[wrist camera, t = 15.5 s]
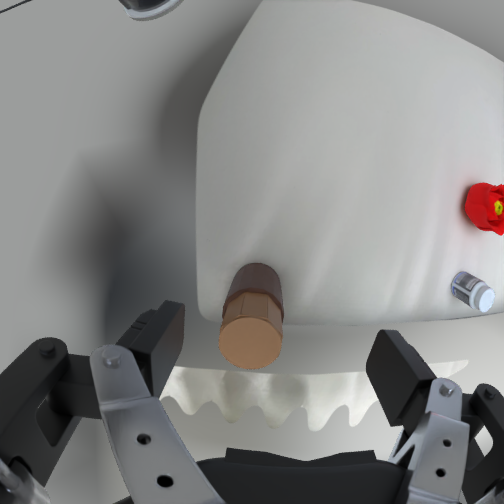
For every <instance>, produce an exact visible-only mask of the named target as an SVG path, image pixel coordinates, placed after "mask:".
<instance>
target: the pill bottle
mask: <svg viewBox="0 0 504 504" xmlns="http://www.w3.org/2000/svg"><path fill="white" fill-rule="evenodd" d="M452 293H453V295H454V296H456V297H457V298H458V299H460V300H461V301H463V302H464V303H466V304H467V305H469V306H470V307H471V308H473V309H478V310H480V311H481V312H486V311H488V310H489V309H490V308H491V306H492V305H493V302H494V299H495V292H494V290H493V289H492V288H490V287H488V285H487V284H486V283H485V282H484V281H482V280H480V279H478V278H476V277H474V276H472V275H471V274H469V273H467V272H460V273H459V274H457V275H456V277H455V278H454V280H453V283H452Z"/></svg>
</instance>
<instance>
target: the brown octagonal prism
mask: <svg viewBox="0 0 504 504" xmlns="http://www.w3.org/2000/svg"><path fill="white" fill-rule="evenodd" d="M282 338H283V332H282V320H281V311H280V309H279V307H278V306H277V305H276V304H275V303H274V301H273V300H272V299H271V298H270V297H269V295H267V294H261V293H253V292H244V293H243V294H241V295H240V296H238V297H237V298H236V299H234V300H233V301H231V302H230V303H229V304H228V307H227V310H226V313H225V316H224V319H223V322H222V325H221V328H220V337H219V349H220V351H221V353H222V354H223V356H224V357H225V358H226V360H228V361H229V362H230V363H232V364H233V365H235V366H237V367H241V368H244V369H259V368H263V367H265V366H267V365H269V364H271V363H272V362H273V361H274V360H275V359H276V358H277V357H278V356H279V353H280V350H281V343H282Z"/></svg>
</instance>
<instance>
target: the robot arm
mask: <svg viewBox="0 0 504 504" xmlns="http://www.w3.org/2000/svg"><path fill="white" fill-rule="evenodd" d="M29 1H31V0H25V1H23V2H21V3H18V4H16V5H14V6H11V7H9V8H7V9H4V10H2V11H0V13H2V12H5V11H7V10H10V9H12V8H14V7H17V6H19V5H21V4H24V3H26V2H29ZM119 1H120V2H121V3H122V4H123V5H124V7H125V8H126V9H127V10H129V9H133V10H134V11H137V12H146V11H150V10H153V9H156V8H158V7H160V6H162V5H164V4H166V3H167V2H168V1H170V0H119ZM184 316H185V305H184V304H183V303H178V302H172V301H168V300H165V301H164V302H163V304H162V305H161V306H160V307H159V309H158V310H152V309H151V310H149V311H146V312H145V313H142V314H141V315H140V316H139V317H138V318H137V319H136V321H135V322H134V323H133V324H132V325H131V328H129V329H128V330H127V331H126V332H125V333H124V335H123V336H122V337H121V338H120V339H119V340H118V342H117V343H116V344H115V345H104V346H101V347H98V348H97V349H95V350H94V351H93V352H92V353H91V355H90V356H82V355H74V354H68V350H67V346H66V344H65V343H64V342H63V341H62V340H60V339H57V338H52V337H49V338H48V337H47V338H42V339H39V340H36V341H35V342H33V343H32V344H31V345H30V346H29V347H28V348H27V349H26V350H25V351H24V352H23V353H22V354H21V355H19V356H18V357H17V358H16V359H15V360H14V362H12V363H11V364H10V365H9V366H8V367H7V368H6V369H5V370H4V371H3V372H2V373H1V374H0V504H51V500H50V497H49V495H48V493H47V491H46V490H45V489H44V487H45V485H46V483H47V481H48V479H49V477H50V475H51V473H52V471H53V469H54V467H55V465H56V464H57V462H58V460H59V458H60V456H61V454H62V452H63V451H64V449H65V447H66V445H67V443H68V441H69V440H70V438H71V436H72V434H73V432H74V431H75V429H76V427H77V425H78V424H79V422H80V420H81V419H82V417H86V418H94V419H102V420H103V423H104V426H105V429H106V433H107V436H108V439H109V442H110V445H111V448H112V451H113V454H114V456H115V459H116V462H117V465H118V467H119V470H120V472H121V475H122V477H123V479H124V482H125V484H126V487H127V489H128V491H129V493H130V495H131V496H129V497H126V498H124V499H122V500H120V501H118V502H116V503H114V504H462V503H460V502H459V497H460V492H461V489H462V491H463V493H464V496H465V499H466V502H467V504H504V397H503V396H502V395H501V394H500V392H499V391H498V390H497V389H496V388H495V387H493V386H491V385H489V384H484V383H483V384H479V385H478V386H477V388H476V389H475V391H474V393H473V394H465V393H462V390H461V388H460V387H459V386H458V385H457V384H456V383H455V382H453V381H452V380H449V379H446V378H437V377H436V376H435V374H434V373H433V372H432V370H431V369H430V368H429V366H428V365H427V364H426V362H424V360H423V359H422V357H421V356H420V355H419V353H418V352H417V351H416V350H415V349H414V347H412V346H411V345H410V344H408V343H407V342H406V341H405V340H404V338H403V337H402V336H401V334H400V333H399V332H398V331H397V330H380V331H379V332H378V334H377V337H376V339H375V341H374V344H373V346H372V349H371V352H370V354H369V357H368V359H367V362H366V373H367V375H368V377H369V380H370V382H371V384H372V386H373V388H374V390H375V393H376V395H377V397H378V399H379V401H380V404H381V406H382V408H383V410H384V412H385V415H386V417H387V419H388V422H389V424H390V426H391V427H393V426H401V425H403V427H404V428H403V429H402V431H401V432H400V434H399V436H398V438H397V441H396V443H395V446H394V448H393V450H392V453H391V455H390V457H389V459H388V461H383V460H377V459H376V456H375V453H374V450H368V451H358V452H345V453H339V454H335V455H332V456H328V457H324V458H319V459H316V460H311V461H301V460H297V459H292V458H288V457H284V456H280V455H276V454H272V453H268V452H261V451H251V450H242V449H234V448H227V450H226V456H225V457H223V458H212V459H206V460H201V461H197V462H195V461H194V459H193V458H192V456H191V454H190V453H189V451H188V450H187V448H186V447H185V445H184V443H183V442H182V440H181V438H180V436H179V435H178V433H177V432H176V430H175V428H174V426H173V424H172V423H171V421H170V419H169V417H168V415H167V414H166V412H165V410H164V408H163V406H162V404H161V402H160V400H159V397H160V395H161V393H162V391H163V389H164V387H165V384H166V382H167V380H168V378H169V376H170V374H171V371H172V369H173V367H174V365H175V363H176V361H177V359H178V356H179V354H180V352H181V349H182V345H183V339H184ZM45 398H46V399H45ZM44 399H45V400H44ZM43 400H44V401H43ZM42 402H43V403H42ZM41 403H42V404H41ZM40 404H41V405H40ZM39 406H40V407H39ZM38 407H39V408H38ZM484 425H485V427H486V428H487V430H488V432H489V433H490V435H491V437H492V439H493V446H492V449H491V450H490V452H489V453H488V454H487V455H486V456H485V457H484V455H483V453H482V451H481V450H480V448H479V446H478V444H477V442H476V440H475V436H476V435H477V434H478V433H479V431H480V430H481V429H482V428H483V426H484Z"/></svg>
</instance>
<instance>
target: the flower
mask: <svg viewBox="0 0 504 504" xmlns="http://www.w3.org/2000/svg"><path fill="white" fill-rule="evenodd" d="M465 211H466V213H467V215H468V217H469V218H470V220H471V221H472V222H473V223H474V224H475V226H476V227H478V228H479V229H480V230H483V231H493V232H495V233H497V234H498V235H503V234H504V185H502V184H501V185H499V186H496V185H495V186H493V185H491V184H488V183H478V184H475V185H473V186H472V187H471V188H470V190H469V193H468V196H467V200H466V203H465Z"/></svg>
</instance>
